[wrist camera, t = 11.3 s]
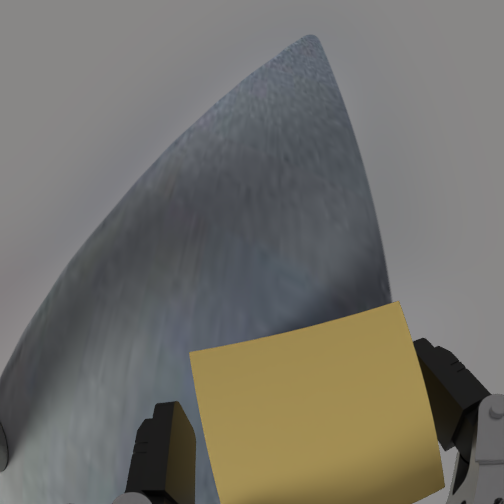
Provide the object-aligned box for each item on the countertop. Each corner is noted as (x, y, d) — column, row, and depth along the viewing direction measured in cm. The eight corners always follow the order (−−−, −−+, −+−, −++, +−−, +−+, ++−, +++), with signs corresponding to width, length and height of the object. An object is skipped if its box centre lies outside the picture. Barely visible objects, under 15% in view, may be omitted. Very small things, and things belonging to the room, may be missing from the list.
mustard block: (260, 463, 14) (234, 549, 4) (242, 381, 16) (189, 351, 7) (349, 441, 14) (444, 487, 4) (329, 361, 16) (398, 300, 7)
